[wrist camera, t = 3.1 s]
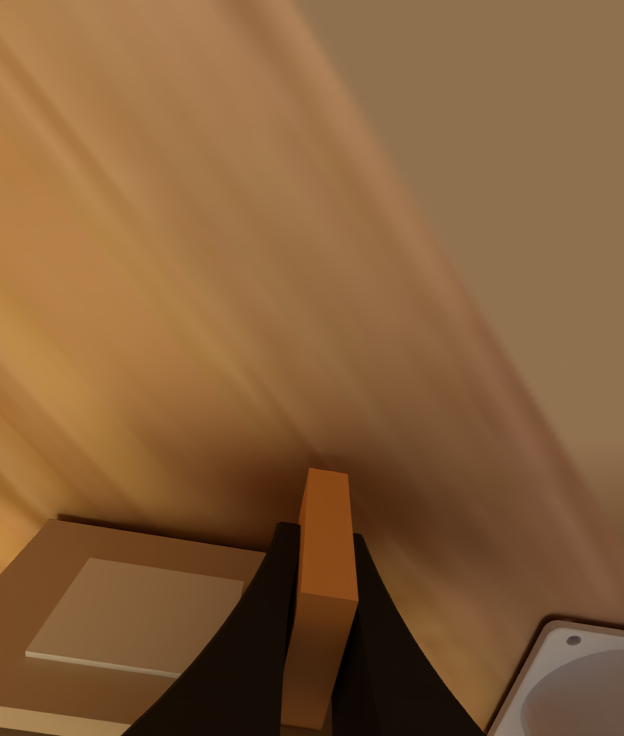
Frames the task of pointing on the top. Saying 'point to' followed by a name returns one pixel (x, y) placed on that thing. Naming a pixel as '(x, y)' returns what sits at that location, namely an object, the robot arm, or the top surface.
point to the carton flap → (163, 618)
